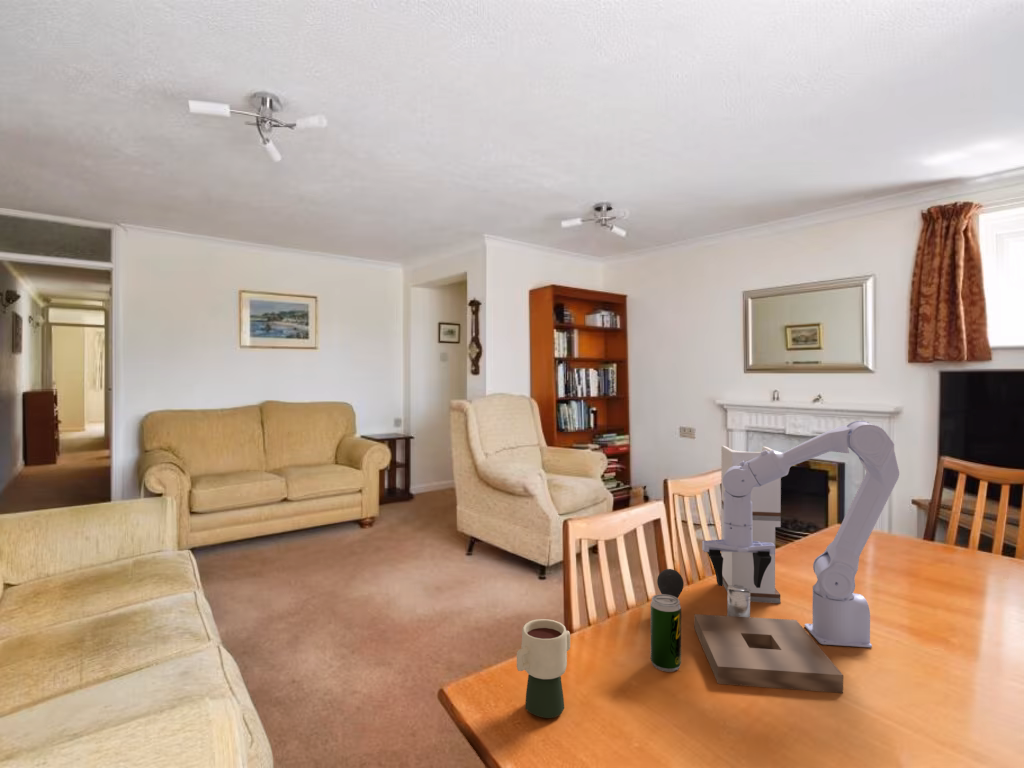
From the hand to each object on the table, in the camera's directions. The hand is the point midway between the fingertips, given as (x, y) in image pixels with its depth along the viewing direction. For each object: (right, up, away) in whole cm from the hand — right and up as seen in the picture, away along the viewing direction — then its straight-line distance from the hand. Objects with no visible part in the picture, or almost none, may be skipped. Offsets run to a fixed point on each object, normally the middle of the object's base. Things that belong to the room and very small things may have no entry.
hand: (738, 585), depth 114 cm
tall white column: (+9, -8, +15) cm, 19 cm away
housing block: (-2, -8, -15) cm, 17 cm away
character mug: (-44, -9, -30) cm, 54 cm away
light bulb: (-14, -8, +3) cm, 16 cm away
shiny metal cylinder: (0, -8, 0) cm, 8 cm away
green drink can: (-21, -8, -17) cm, 28 cm away
